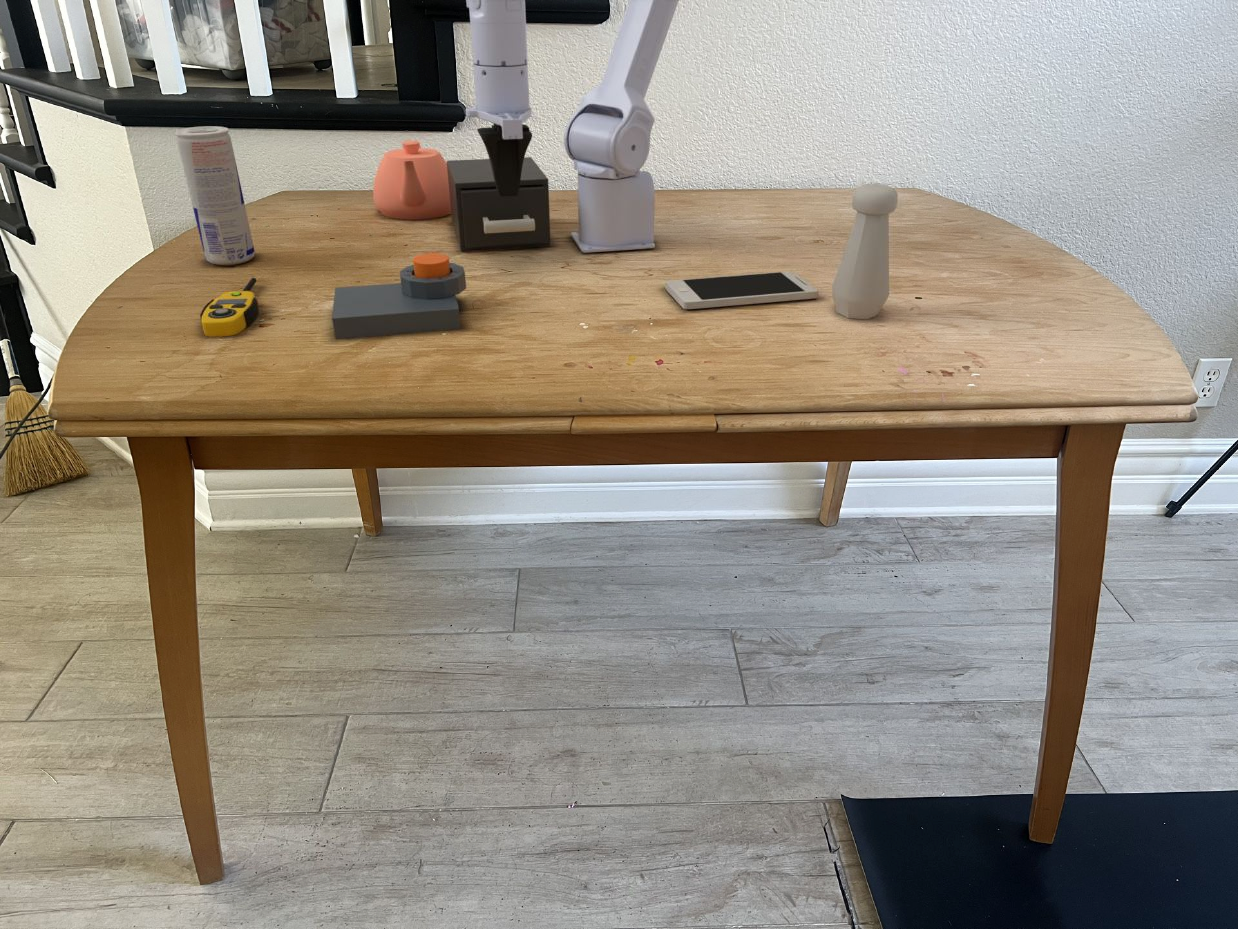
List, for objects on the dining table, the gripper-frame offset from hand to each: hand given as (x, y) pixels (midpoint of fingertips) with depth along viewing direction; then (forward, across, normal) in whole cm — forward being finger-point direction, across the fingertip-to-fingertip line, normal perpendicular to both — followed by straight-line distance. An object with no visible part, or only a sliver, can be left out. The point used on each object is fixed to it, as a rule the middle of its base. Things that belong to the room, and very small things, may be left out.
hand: (508, 194), depth 97 cm
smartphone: (+9, +14, +23) cm, 29 cm away
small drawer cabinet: (+9, -14, 0) cm, 17 cm away
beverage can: (+9, -10, -33) cm, 35 cm away
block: (+9, +14, -14) cm, 21 cm away
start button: (+5, +11, -10) cm, 16 cm away
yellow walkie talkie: (+9, +8, -30) cm, 32 cm away
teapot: (+9, -28, -10) cm, 31 cm away
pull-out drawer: (+8, -11, 0) cm, 13 cm away
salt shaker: (+9, +22, +33) cm, 41 cm away
